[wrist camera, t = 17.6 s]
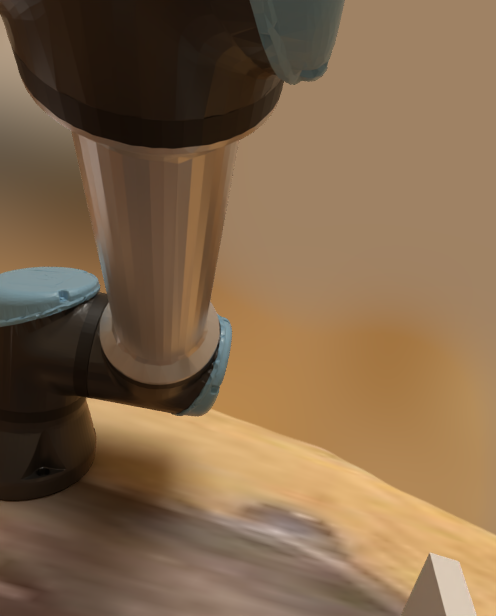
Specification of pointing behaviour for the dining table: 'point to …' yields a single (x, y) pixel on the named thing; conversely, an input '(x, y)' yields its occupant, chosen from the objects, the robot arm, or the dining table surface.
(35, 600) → the dining table surface
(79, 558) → the dining table surface
